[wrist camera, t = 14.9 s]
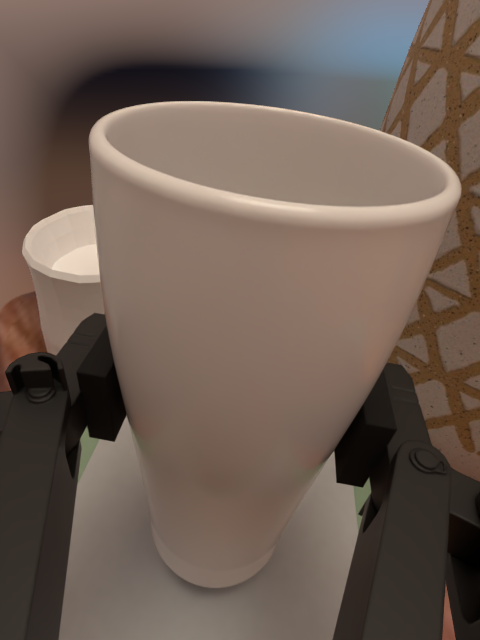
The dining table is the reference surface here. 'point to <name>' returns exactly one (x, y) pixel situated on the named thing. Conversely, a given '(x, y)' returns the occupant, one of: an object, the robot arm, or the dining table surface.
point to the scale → (186, 598)
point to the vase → (462, 233)
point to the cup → (64, 272)
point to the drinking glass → (252, 304)
